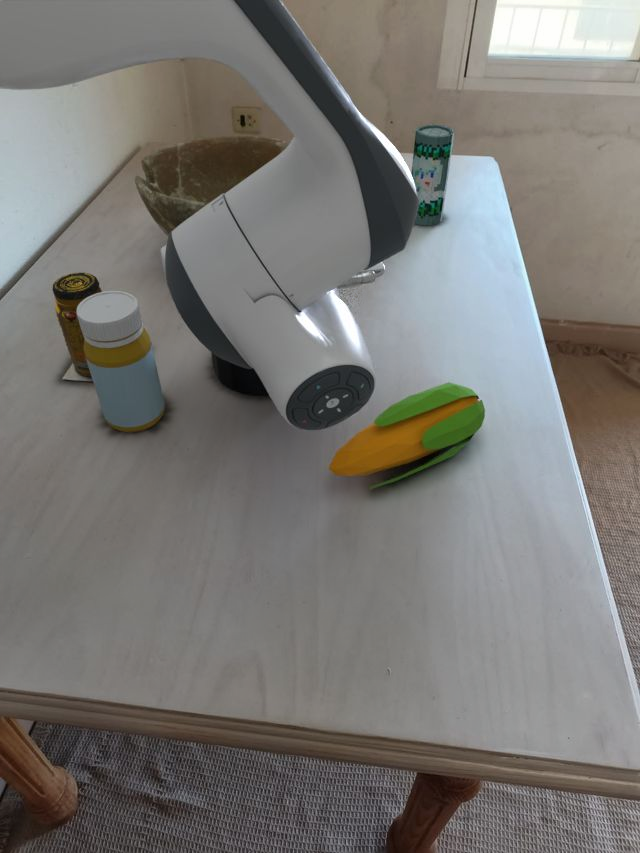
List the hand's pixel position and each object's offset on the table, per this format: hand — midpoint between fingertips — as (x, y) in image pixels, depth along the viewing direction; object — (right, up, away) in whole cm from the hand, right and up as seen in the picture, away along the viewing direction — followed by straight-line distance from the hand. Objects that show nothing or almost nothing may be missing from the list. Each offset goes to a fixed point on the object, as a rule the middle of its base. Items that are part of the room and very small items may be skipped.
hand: (253, 226), depth 66 cm
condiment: (-21, -13, +15) cm, 29 cm away
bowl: (-7, +6, +36) cm, 37 cm away
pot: (0, -13, +15) cm, 20 cm away
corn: (+17, -25, +3) cm, 30 cm away
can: (+26, +17, +47) cm, 56 cm away
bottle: (-15, -20, +8) cm, 26 cm away
